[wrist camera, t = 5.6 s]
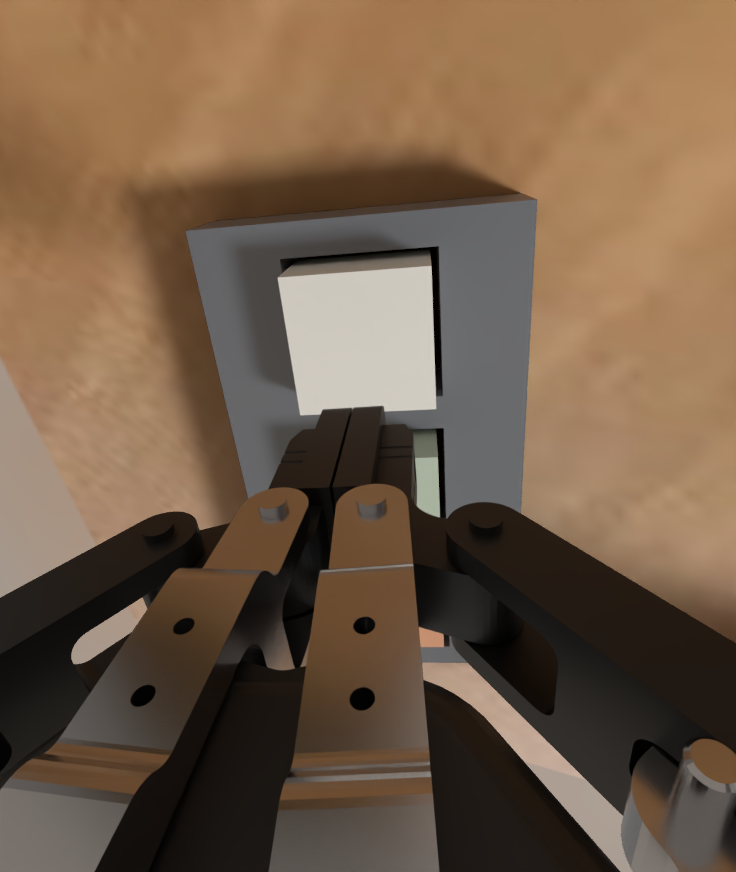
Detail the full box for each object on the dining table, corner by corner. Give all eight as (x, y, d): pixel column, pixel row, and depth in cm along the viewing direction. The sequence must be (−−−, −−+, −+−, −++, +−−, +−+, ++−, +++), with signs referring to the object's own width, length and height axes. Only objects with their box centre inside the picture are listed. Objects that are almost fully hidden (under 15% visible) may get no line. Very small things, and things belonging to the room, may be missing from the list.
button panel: (214, 221, 21) (185, 230, 19) (521, 193, 20) (537, 199, 17) (297, 618, 31) (286, 661, 29) (504, 618, 30) (512, 663, 27)
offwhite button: (297, 260, 20) (277, 277, 17) (429, 249, 20) (431, 265, 17) (315, 382, 22) (300, 415, 20) (433, 376, 22) (436, 409, 19)
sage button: (321, 424, 23) (307, 461, 21) (435, 419, 23) (437, 457, 20) (334, 516, 26) (324, 561, 23) (438, 514, 25) (441, 559, 22)
